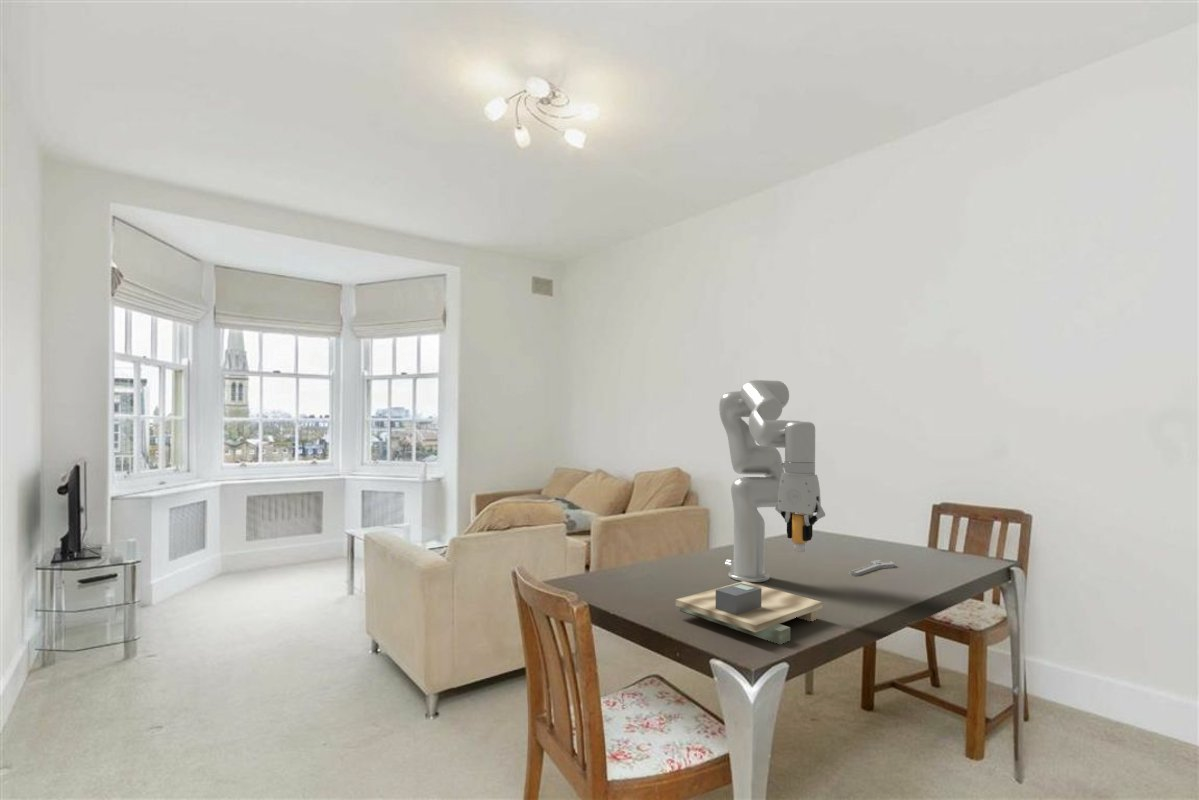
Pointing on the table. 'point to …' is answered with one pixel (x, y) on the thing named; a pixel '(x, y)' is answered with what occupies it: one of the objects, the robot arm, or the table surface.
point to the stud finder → (738, 598)
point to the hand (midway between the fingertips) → (799, 538)
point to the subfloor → (755, 612)
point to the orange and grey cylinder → (798, 532)
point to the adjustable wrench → (871, 567)
